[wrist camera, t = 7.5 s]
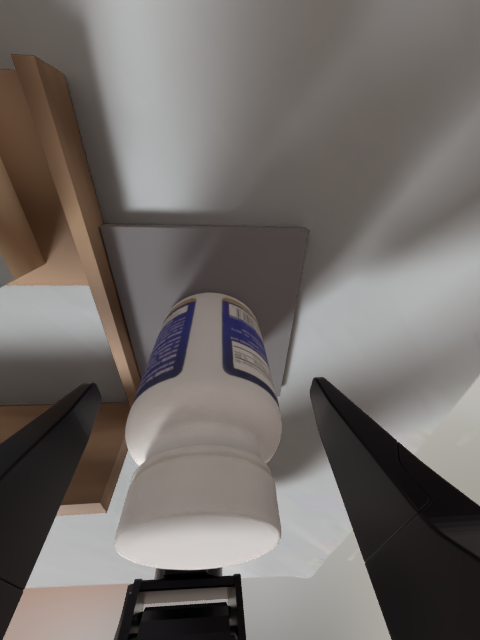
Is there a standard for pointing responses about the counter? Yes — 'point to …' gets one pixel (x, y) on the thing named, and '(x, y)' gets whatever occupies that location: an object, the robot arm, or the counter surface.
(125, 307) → the mat
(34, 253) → the offcut lower
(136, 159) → the counter surface
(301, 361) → the counter surface
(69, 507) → the rack
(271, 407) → the pill bottle
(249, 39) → the counter surface
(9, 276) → the offcut upper
